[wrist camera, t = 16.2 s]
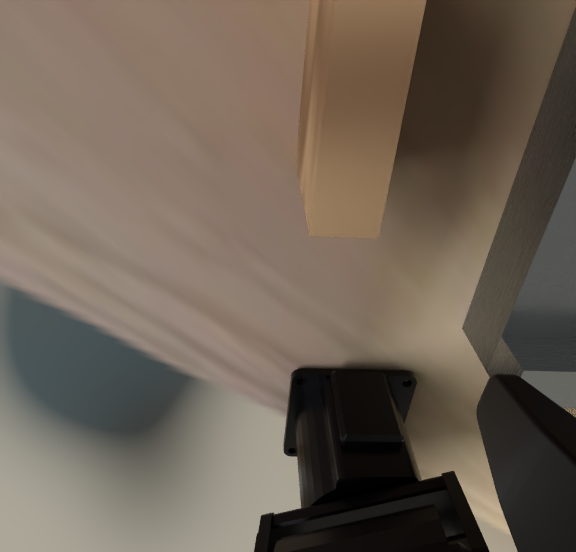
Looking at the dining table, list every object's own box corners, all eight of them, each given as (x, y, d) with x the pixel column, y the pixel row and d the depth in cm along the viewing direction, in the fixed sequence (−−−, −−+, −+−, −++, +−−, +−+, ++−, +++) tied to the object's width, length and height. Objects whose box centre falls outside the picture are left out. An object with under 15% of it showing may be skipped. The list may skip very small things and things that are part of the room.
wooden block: (346, 165, 19) (378, 238, 14) (295, 163, 18) (309, 235, 13) (383, -89, 14) (450, -122, 9) (317, -96, 14) (350, -132, 9)
